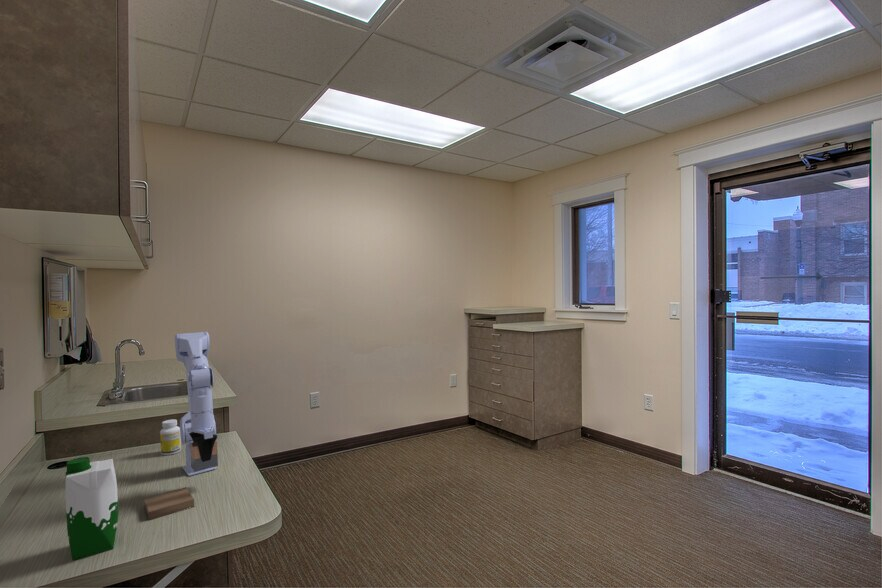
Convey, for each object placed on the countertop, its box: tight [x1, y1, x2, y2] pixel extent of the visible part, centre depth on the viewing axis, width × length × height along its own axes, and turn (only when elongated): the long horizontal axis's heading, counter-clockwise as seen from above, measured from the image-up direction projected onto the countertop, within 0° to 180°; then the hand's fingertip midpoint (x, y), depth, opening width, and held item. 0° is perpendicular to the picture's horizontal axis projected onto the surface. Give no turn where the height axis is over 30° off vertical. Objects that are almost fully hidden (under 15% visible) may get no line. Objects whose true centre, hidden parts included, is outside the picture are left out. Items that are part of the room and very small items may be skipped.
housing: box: [190, 440, 219, 472], centre depth 131 cm, size 5×6×7 cm
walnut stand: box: [143, 487, 195, 521], centre depth 120 cm, size 10×10×2 cm
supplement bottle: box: [159, 418, 182, 456], centre depth 163 cm, size 6×6×11 cm
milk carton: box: [65, 456, 119, 561], centre depth 102 cm, size 9×9×20 cm
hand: (204, 458), depth 131 cm, fingers closed on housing, 5 cm apart
